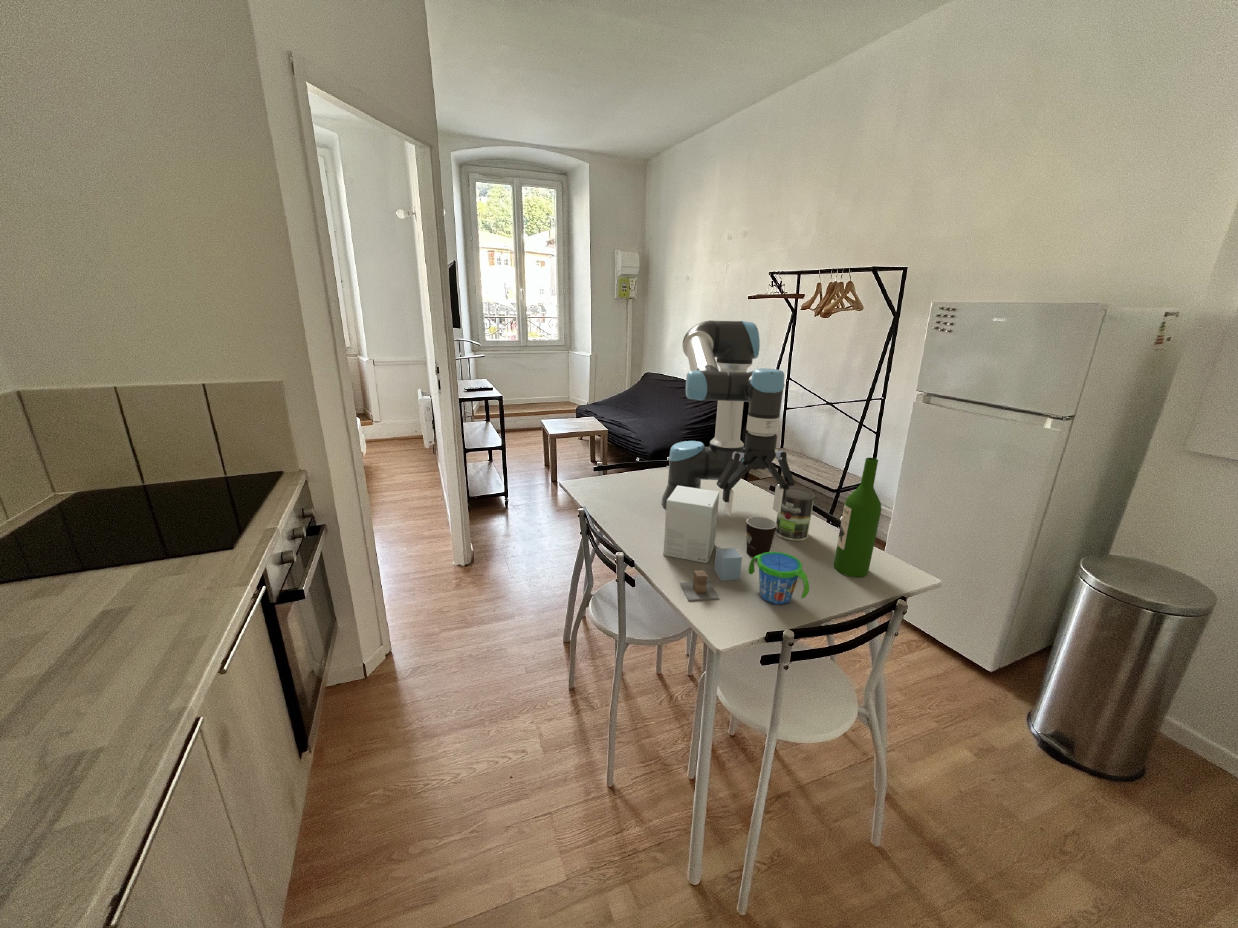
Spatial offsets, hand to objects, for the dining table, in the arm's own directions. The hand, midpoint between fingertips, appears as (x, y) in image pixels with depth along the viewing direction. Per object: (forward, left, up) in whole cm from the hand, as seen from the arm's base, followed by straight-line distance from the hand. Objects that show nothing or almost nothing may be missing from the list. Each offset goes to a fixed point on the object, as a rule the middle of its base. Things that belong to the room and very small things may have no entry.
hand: (752, 512), depth 128 cm
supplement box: (-16, -11, -19) cm, 27 cm away
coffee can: (-23, +25, -19) cm, 39 cm away
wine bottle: (0, +31, -19) cm, 36 cm away
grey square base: (+6, -15, -19) cm, 25 cm away
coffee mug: (-13, +9, -19) cm, 24 cm away
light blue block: (-1, -5, -19) cm, 19 cm away
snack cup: (+11, +4, -19) cm, 22 cm away
